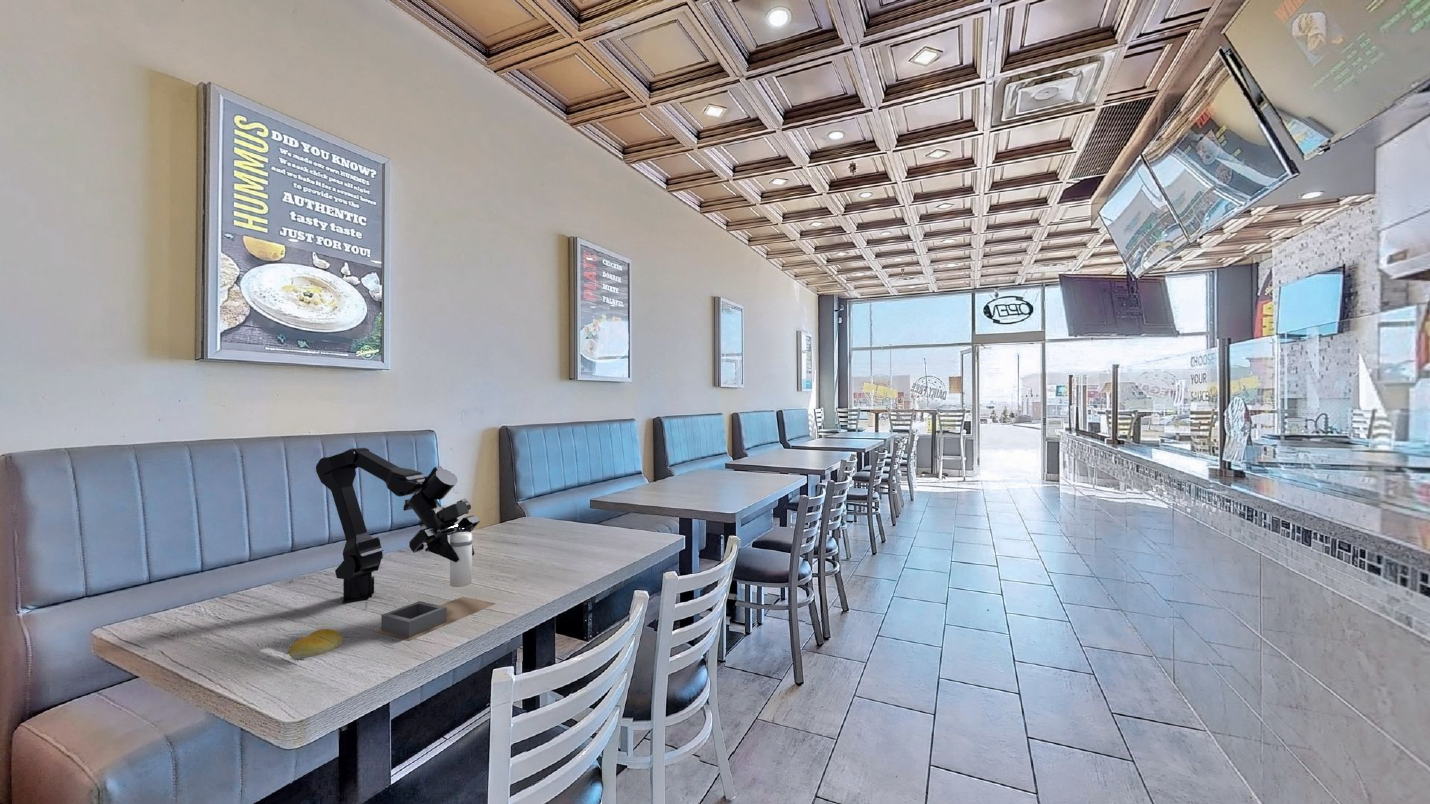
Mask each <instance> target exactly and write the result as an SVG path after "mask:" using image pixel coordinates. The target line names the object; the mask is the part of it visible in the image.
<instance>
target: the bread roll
mask: <svg viewBox="0 0 1430 804" xmlns="http://www.w3.org/2000/svg"><path fill="white" fill-rule="evenodd" d="M343 643H344V638H343V636H342V634H341V633H340V632H339V631H338V630H335V629H333V628H332V629H331V628H323V629H321V628H320V629H318V630H315V631H312V632H311V633H310V634H309V635H307V636H305V637H301V638H299V639H297V640H295V641H294V642H293V643H292V645H290V647H289V649H288V654H289V657H291V659H292V660H293V659H294V661H299V660H300V661H305V660H304V658H306V657H307V658H308V657H313V656H318V655H322V654H324V653H328V652H330V651H333V650H335V649H336V648H337V647H339V646H341V645H342V644H343Z"/></svg>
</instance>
